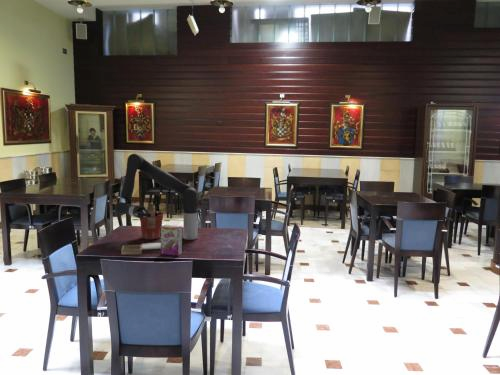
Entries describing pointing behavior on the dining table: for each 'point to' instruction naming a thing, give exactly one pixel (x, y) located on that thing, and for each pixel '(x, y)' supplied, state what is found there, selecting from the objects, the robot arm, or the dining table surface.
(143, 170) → the robot arm
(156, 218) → the flower pot
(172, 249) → the candy bar box
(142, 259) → the dining table surface
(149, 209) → the pepper mill
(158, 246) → the mat
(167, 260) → the dining table surface
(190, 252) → the dining table surface
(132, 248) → the collar
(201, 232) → the dining table surface
